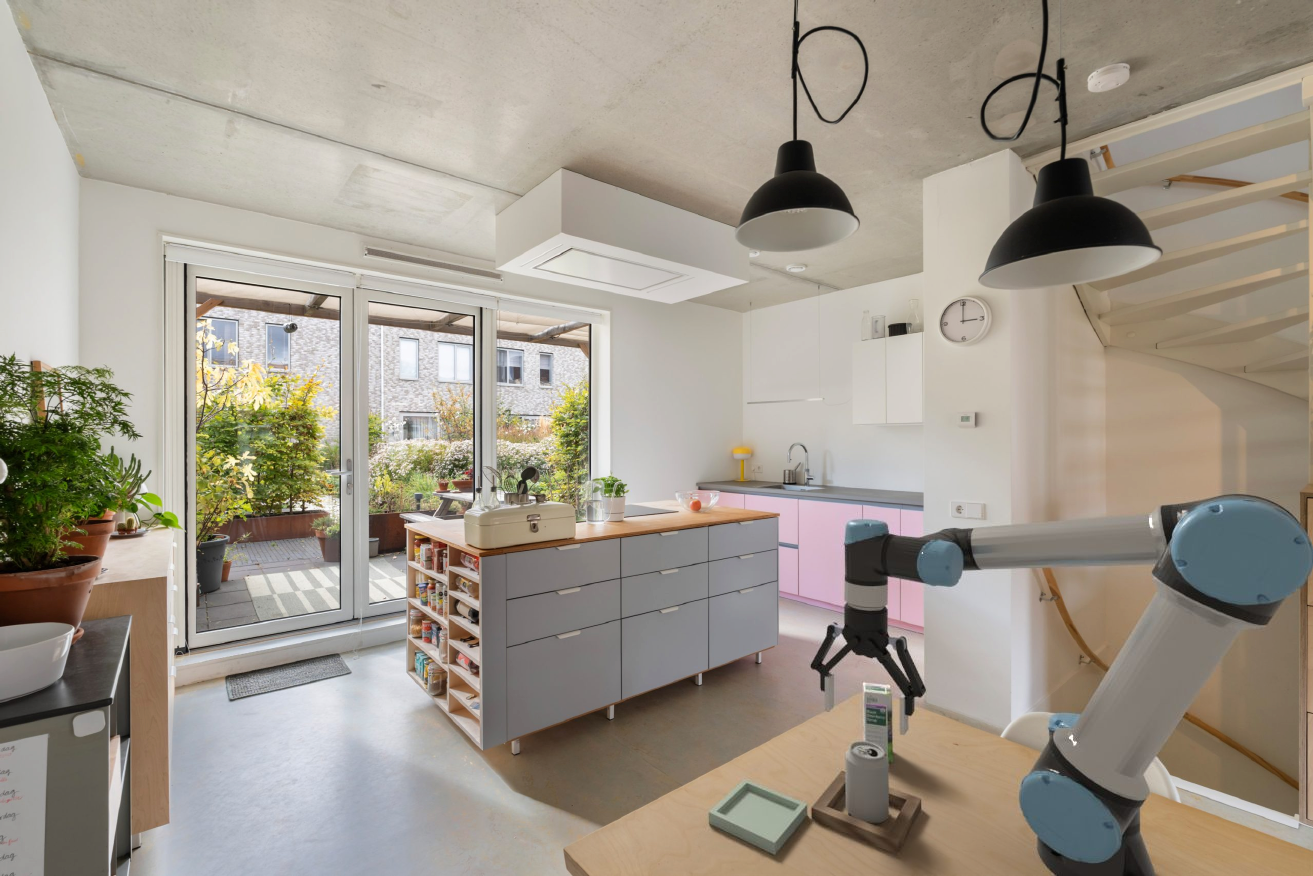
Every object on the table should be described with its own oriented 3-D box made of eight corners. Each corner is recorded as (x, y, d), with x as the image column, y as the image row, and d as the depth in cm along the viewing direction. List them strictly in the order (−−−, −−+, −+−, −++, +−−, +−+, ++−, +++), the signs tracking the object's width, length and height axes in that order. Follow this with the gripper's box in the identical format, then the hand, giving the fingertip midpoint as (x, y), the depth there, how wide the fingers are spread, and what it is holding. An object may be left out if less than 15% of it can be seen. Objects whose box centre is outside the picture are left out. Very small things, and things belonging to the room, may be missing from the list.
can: (892, 830, 102) (892, 761, 102) (848, 824, 104) (847, 757, 104) (884, 804, 109) (884, 740, 110) (843, 799, 111) (843, 736, 111)
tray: (807, 815, 106) (807, 804, 106) (774, 855, 96) (774, 842, 96) (744, 789, 114) (744, 778, 114) (708, 823, 104) (708, 812, 104)
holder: (921, 809, 108) (921, 798, 108) (897, 855, 96) (897, 842, 96) (841, 780, 117) (841, 770, 117) (811, 818, 105) (811, 807, 105)
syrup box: (864, 759, 125) (864, 691, 125) (863, 745, 131) (862, 680, 131) (892, 763, 123) (892, 694, 123) (890, 749, 129) (889, 683, 129)
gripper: (944, 612, 102) (943, 733, 102) (809, 589, 117) (809, 694, 117) (934, 623, 96) (933, 751, 96) (793, 597, 112) (793, 707, 112)
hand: (865, 720), depth 107 cm, fingers open, 13 cm apart
